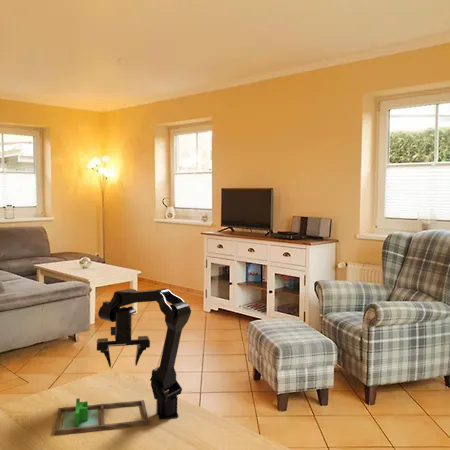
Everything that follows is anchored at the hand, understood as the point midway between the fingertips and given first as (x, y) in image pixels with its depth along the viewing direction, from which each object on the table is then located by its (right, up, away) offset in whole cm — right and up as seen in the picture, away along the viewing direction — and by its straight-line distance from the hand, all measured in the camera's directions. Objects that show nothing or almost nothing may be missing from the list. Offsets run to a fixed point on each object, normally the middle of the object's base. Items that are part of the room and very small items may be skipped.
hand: (123, 366), depth 175 cm
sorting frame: (-4, -13, -15) cm, 20 cm away
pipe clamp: (-11, -13, -16) cm, 23 cm away
